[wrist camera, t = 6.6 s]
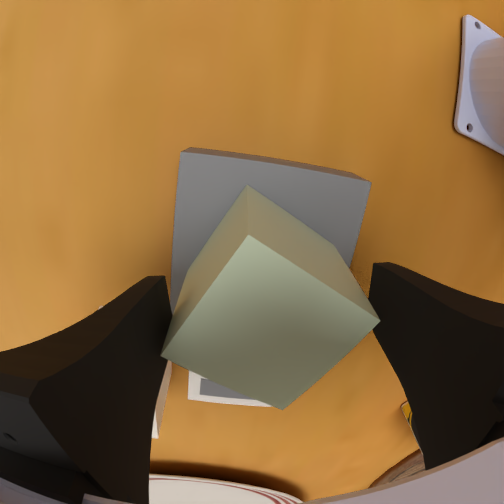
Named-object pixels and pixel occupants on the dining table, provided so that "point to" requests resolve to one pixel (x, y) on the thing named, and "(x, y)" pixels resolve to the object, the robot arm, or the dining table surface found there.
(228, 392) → the card
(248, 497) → the dinner plate
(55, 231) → the dining table surface
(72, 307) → the dining table surface
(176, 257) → the base slab
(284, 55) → the dining table surface
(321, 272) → the sage block
